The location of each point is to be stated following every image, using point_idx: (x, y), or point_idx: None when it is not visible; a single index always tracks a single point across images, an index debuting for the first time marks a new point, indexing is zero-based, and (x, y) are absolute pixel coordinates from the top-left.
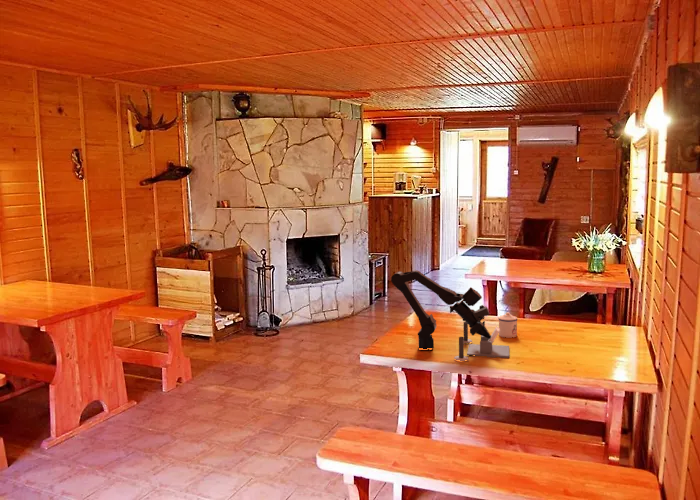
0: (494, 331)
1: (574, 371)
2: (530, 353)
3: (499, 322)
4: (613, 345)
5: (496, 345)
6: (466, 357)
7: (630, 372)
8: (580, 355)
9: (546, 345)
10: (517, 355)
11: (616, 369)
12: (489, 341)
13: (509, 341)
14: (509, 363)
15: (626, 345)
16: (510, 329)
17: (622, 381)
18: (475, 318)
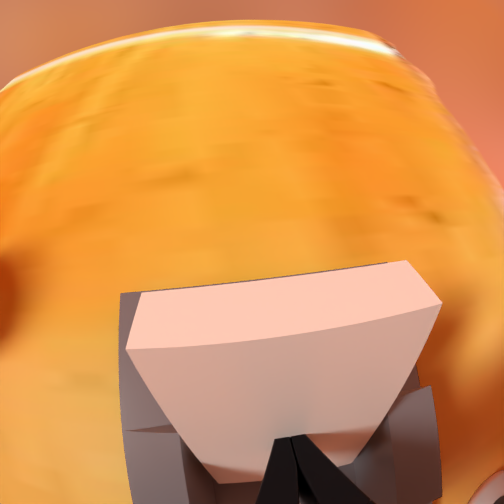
0: (331, 377)
1: (395, 85)
2: (233, 175)
3: None
4: (115, 54)
5: (127, 389)
6: (492, 491)
7: (328, 33)
8: (218, 66)
9: (89, 145)
10: (301, 231)
11: (321, 39)
12: (407, 418)
13: (9, 303)
14: (460, 255)
15: (118, 45)
16: None
17: (394, 50)
18: None
